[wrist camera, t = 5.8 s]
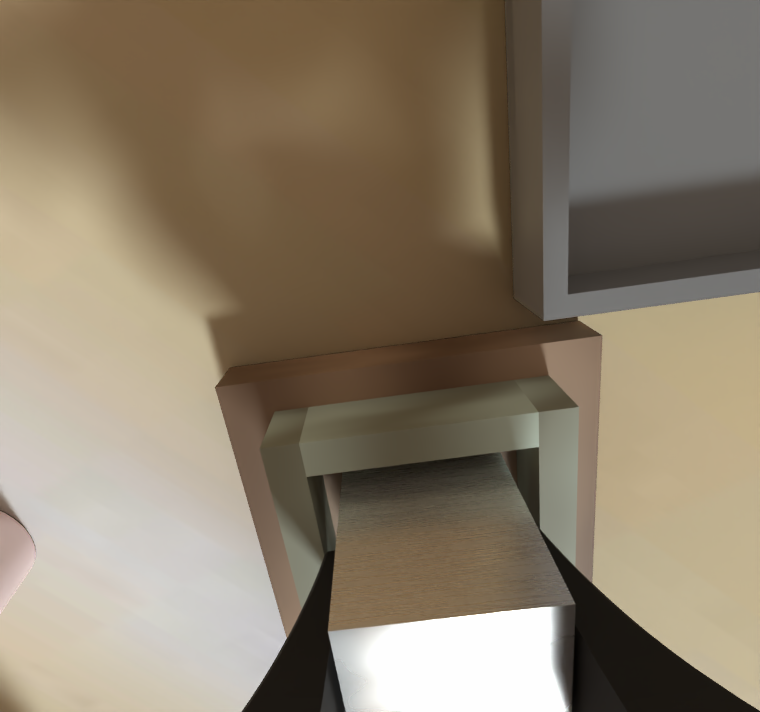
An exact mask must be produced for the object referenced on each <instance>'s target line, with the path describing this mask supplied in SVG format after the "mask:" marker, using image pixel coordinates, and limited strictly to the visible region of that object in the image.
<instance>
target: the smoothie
mask: <svg viewBox="0 0 760 712" xmlns="http://www.w3.org/2000/svg"><path fill="white" fill-rule="evenodd" d="M35 558H36V551H35V546H34V543H33V540H32V538H31V537H30V535H29V534H28V532H27V531H26V530H25V528H24V527H23V526H22V525H21V524H20V523H18V522H17V521H16V520H15V519H13V518H12V517H10V516H9V515H7V514H5V513H4V512H1V511H0V614H1V613H2V611H3V610H4V608H5V607H6V605H7V604H8V602H9V601H10V599H11V598H12V597H13V595H14V594H15V592H16V591H17V589H18V588H19V586H20V585H21V583H22V582H23V580H24V579H25V577H26V576H27V574H28V573H29V572H30V570H31V569H32V567H33V565H34V562H35Z"/></svg>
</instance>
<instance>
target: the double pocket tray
mask: <svg viewBox="0 0 760 712" xmlns="http://www.w3.org/2000/svg"><path fill="white" fill-rule="evenodd" d="M601 357H602V335H601V334H599V333H597V332H596V331H594V330H593V329H591V328H590V327H588V326H586V325H585V324H583V323H582V322H580V321H573V322H566V323H558V324H551V325H543V326H536V327H529V328H521V329H514V330H506V331H499V332H491V333H484V334H477V335H469V336H462V337H454V338H447V339H439V340H432V341H425V342H417V343H410V344H402V345H395V346H387V347H380V348H373V349H365V350H358V351H350V352H343V353H335V354H328V355H321V356H313V357H306V358H298V359H291V360H283V361H276V362H269V363H261V364H254V365H246V366H239V367H231V368H229V370H228V371H227V372H226V374H225V375H224V376H223V378H222V379H221V380H220V382H219V383H218V384H217V386H216V387H215V389H216V392H217V396H218V399H219V403H220V406H221V410H222V413H223V417H224V420H225V424H226V427H227V431H228V434H229V438H230V441H231V445H232V448H233V452H234V455H235V459H236V462H237V466H238V469H239V473H240V476H241V480H242V483H243V486H244V490H245V493H246V497H247V500H248V504H249V507H250V511H251V514H252V518H253V521H254V525H255V528H256V532H257V535H258V539H259V542H260V546H261V549H262V553H263V556H264V560H265V563H266V567H267V570H268V574H269V577H270V581H271V584H272V588H273V591H274V595H275V598H276V602H277V605H278V609H279V612H280V616H281V619H282V623H283V626H284V630H285V633H286V637H288V635H289V634H290V632H291V630H292V628H293V626H294V624H295V622H296V620H297V618H298V616H299V614H300V612H301V610H302V608H303V606H304V604H305V602H306V600H307V597H308V595H309V593H310V591H311V588H312V586H313V584H314V581H315V579H316V577H317V574H318V572H319V569H320V567H321V564H322V561H323V558H324V555H325V554H326V553H327V552H328V551H334V550H335V549H336V538H337V527H338V516H339V505H340V494H341V483H342V473H343V472H349V471H356V470H364V469H372V468H380V467H387V466H395V465H403V464H411V463H418V462H426V461H434V460H442V459H449V458H457V457H465V456H473V455H480V454H488V453H496V452H500V453H501V455H502V457H503V459H504V461H505V463H506V465H507V467H508V469H509V471H510V473H511V475H512V477H513V479H514V481H515V483H516V485H517V487H518V489H519V491H520V493H521V495H522V497H523V499H524V501H525V503H526V505H527V507H528V509H529V511H530V513H531V515H532V517H533V519H534V521H535V523H536V525H537V527H539V528H540V529H541V530H542V532H543V533H544V534H545V535H546V536H547V537H548V538H549V539H550V541H551V542H552V543H553V544H554V545H555V546H556V547H557V548H558V549H559V550H560V551H561V552H562V553H563V555H564V556H565V557H566V558H567V559H568V560H569V561H570V562H571V563H572V564H573V565H574V566H575V567H576V568H577V569H578V570H579V571H580V572H581V573H582V574H583V575H584V576H585V577H586V578H587V579H588V580H589V581H590V582H591V583H592V575H593V551H594V526H595V502H596V478H597V454H598V429H599V405H600V381H601Z"/></svg>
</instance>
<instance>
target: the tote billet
mask: <svg viewBox="0 0 760 712" xmlns="http://www.w3.org/2000/svg"><path fill="white" fill-rule="evenodd" d="M575 607H576V604H575V602H574V600H573V598H572V596H571V594H570V592H569V590H568V588H567V586H566V584H565V582H564V580H563V578H562V576H561V574H560V572H559V570H558V568H557V566H556V564H555V562H554V560H553V558H552V556H551V554H550V552H549V550H548V548H547V546H546V544H545V542H544V540H543V537H542V535H541V533H540V531H539V529H538V527H537V525H536V523H535V521H534V519H533V517H532V515H531V513H530V511H529V509H528V507H527V505H526V503H525V501H524V499H523V497H522V495H521V493H520V491H519V489H518V487H517V485H516V483H515V481H514V479H513V477H512V475H511V473H510V471H509V469H508V467H507V465H506V463H505V461H504V459H503V457H502V455H501V453H500V452H496V453H488V454H480V455H473V456H465V457H457V458H449V459H442V460H434V461H426V462H418V463H411V464H403V465H395V466H387V467H380V468H372V469H364V470H356V471H349V472H343V473H342V483H341V494H340V505H339V516H338V527H337V538H336V549H335V560H334V571H333V582H332V592H331V603H330V614H329V625H328V634H329V639H330V643H331V648H332V652H333V657H334V661H335V666H336V670H337V675H338V679H339V684H340V688H341V693H342V697H343V702H344V706H345V711H346V712H572V686H573V660H574V633H575Z"/></svg>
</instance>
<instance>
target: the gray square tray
mask: <svg viewBox="0 0 760 712" xmlns="http://www.w3.org/2000/svg"><path fill="white" fill-rule="evenodd" d="M505 24H506V57H507V90H508V124H509V157H510V190H511V224H512V257H513V290H514V299H516V300H517V301H518V302H519V303H521V304H522V305H523V306H525V307H526V308H527V309H529V310H530V311H531V312H533V313H534V314H535V315H536V316H538V317H539V318H540V319H542V320H543V321H548V320H555V319H562V318H570V317H577V316H585V315H592V314H599V313H607V312H614V311H622V310H629V309H637V308H644V307H651V306H659V305H666V304H674V303H681V302H688V301H696V300H703V299H711V298H718V297H726V296H733V295H740V294H748V293H755V292H760V0H505Z"/></svg>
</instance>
